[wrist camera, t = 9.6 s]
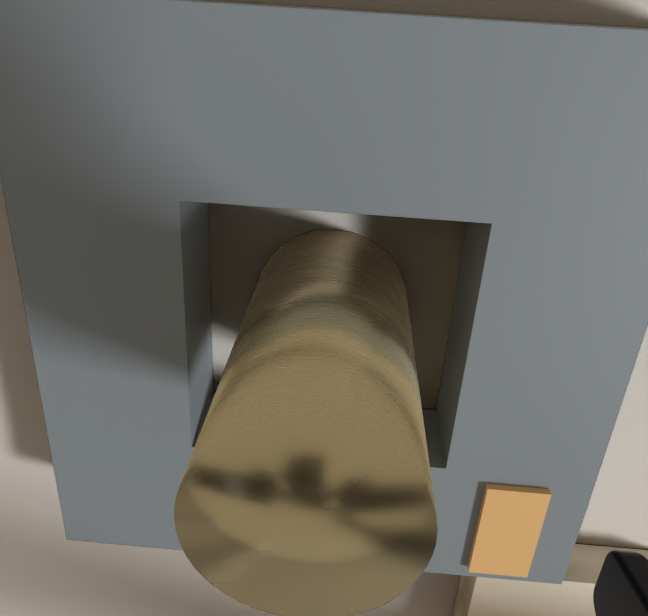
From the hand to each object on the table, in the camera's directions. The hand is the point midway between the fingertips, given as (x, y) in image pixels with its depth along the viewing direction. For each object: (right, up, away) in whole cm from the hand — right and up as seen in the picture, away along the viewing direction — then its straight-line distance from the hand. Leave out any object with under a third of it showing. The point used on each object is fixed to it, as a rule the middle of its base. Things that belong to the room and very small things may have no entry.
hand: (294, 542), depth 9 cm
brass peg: (+1, +4, +8) cm, 8 cm away
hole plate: (+1, +4, +8) cm, 8 cm away
